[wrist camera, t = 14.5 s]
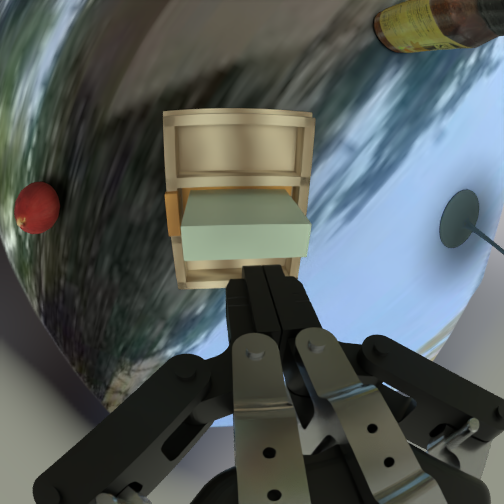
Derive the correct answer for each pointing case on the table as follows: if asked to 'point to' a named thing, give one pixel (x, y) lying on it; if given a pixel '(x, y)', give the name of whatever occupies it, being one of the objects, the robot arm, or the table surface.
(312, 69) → the table surface
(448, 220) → the cocktail glass
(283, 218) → the block
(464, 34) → the sauce bottle
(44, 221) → the onion
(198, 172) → the rack
